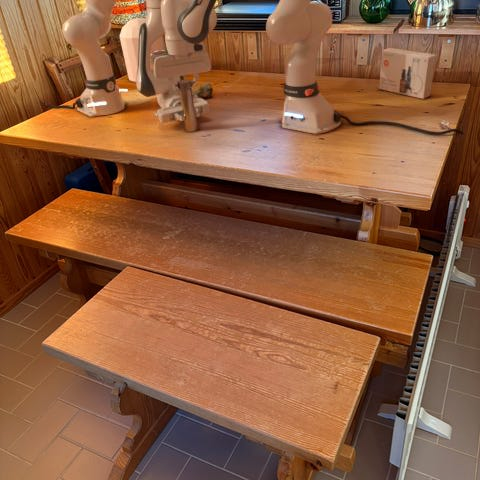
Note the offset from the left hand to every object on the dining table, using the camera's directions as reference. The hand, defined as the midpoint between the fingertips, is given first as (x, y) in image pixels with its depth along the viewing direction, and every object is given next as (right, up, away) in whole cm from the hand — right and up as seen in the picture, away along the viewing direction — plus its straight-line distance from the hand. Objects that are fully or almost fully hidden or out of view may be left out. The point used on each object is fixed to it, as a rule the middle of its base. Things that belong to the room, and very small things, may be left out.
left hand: (190, 116), depth 171 cm
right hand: (-1, +9, -5) cm, 11 cm away
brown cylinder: (0, -4, +3) cm, 5 cm away
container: (-30, +41, +72) cm, 88 cm away
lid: (-2, +11, -6) cm, 13 cm away
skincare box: (+85, +14, +17) cm, 88 cm away
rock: (+1, +19, +36) cm, 40 cm away
